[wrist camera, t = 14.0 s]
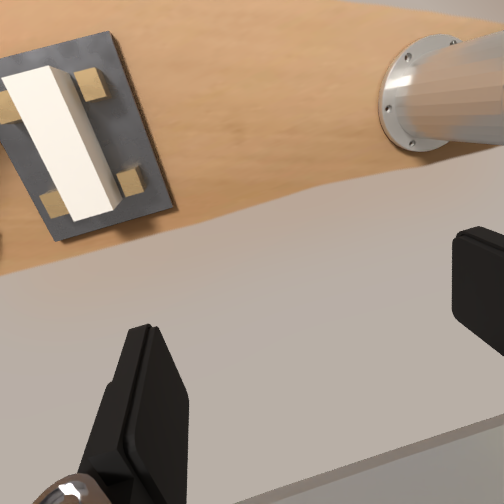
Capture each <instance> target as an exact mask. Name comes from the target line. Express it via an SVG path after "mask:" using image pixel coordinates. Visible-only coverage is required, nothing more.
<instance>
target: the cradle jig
mask: <svg viewBox="0 0 504 504" xmlns="http://www.w3.org/2000/svg"><path fill="white" fill-rule="evenodd" d="M48 65H49V66H52V67H54V68H57V69H60V70H62V71H65V72H67V73H69V74H70V77H71V79H72V81H73V84H74V86H75V88H76V91H77V93H78V95H79V98H80V100H81V102H82V105H83V107H84V110H85V112H86V114H87V117H88V119H89V121H90V124H91V126H92V128H93V131H94V133H95V135H96V138H97V140H98V142H99V145H100V147H101V149H102V152H103V154H104V156H105V159H106V161H107V163H108V166H109V168H110V170H111V173H112V175H113V177H114V180H115V182H116V184H117V187H118V189H119V191H120V194H121V196H122V198H123V199H122V201H121V202H120V203H119V204H118V205H117V206H116V208H115V209H114V210H112V211H109V212H105V213H102V214H98V215H95V216H91V217H88V218H85V219H81V220H78V221H73V219H72V217H71V215H70V213H69V211H68V209H67V207H66V205H65V203H64V201H63V199H62V197H61V195H60V193H59V192H58V190H57V188H56V186H55V184H54V182H53V180H52V178H51V176H50V174H49V172H48V170H47V168H46V166H45V164H44V162H43V160H42V158H41V156H40V154H39V152H38V150H37V148H36V146H35V144H34V142H33V140H32V138H31V136H30V134H29V132H28V130H27V128H26V126H25V124H24V122H23V120H22V118H21V116H20V114H19V112H18V110H17V108H16V106H15V104H14V102H13V100H12V98H11V97H10V95H9V93H8V91H7V89H6V87H5V85H4V83H3V81H2V79H1V78H3V77H7V76H10V75H14V74H18V73H22V72H26V71H29V70H33V69H37V68H41V67H44V66H48ZM0 141H1V143H2V145H3V147H4V149H5V150H6V152H7V154H8V156H9V158H10V160H11V162H12V163H13V165H14V167H15V169H16V171H17V173H18V174H19V176H20V178H21V180H22V182H23V184H24V186H25V187H26V189H27V191H28V193H29V195H30V197H31V199H32V200H33V202H34V204H35V206H36V208H37V210H38V211H39V213H40V215H41V217H42V219H43V221H44V223H45V224H46V226H47V228H48V230H49V232H50V234H51V235H52V237H53V239H54V241H55V242H56V241H60V240H63V239H66V238H70V237H73V236H77V235H80V234H83V233H87V232H90V231H94V230H97V229H100V228H104V227H107V226H111V225H114V224H117V223H121V222H124V221H128V220H131V219H134V218H138V217H141V216H145V215H148V214H152V213H155V212H158V211H162V210H165V209H169V208H172V207H173V203H172V200H171V197H170V194H169V192H168V189H167V186H166V183H165V181H164V178H163V175H162V172H161V170H160V167H159V164H158V161H157V159H156V156H155V153H154V150H153V148H152V145H151V142H150V139H149V136H148V134H147V131H146V128H145V125H144V123H143V120H142V117H141V114H140V112H139V109H138V106H137V103H136V101H135V98H134V95H133V92H132V90H131V87H130V84H129V81H128V79H127V76H126V73H125V70H124V68H123V65H122V62H121V59H120V57H119V54H118V51H117V48H116V45H115V43H114V40H113V37H112V34H111V33H110V32H109V31H106V32H102V33H98V34H94V35H90V36H86V37H82V38H78V39H74V40H71V41H67V42H63V43H59V44H55V45H51V46H47V47H43V48H39V49H36V50H32V51H28V52H24V53H20V54H16V55H12V56H8V57H4V58H1V59H0Z"/></svg>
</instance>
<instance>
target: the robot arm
mask: <svg viewBox="0 0 504 504" xmlns="http://www.w3.org/2000/svg"><path fill="white" fill-rule="evenodd" d="M385 108H386V111H385ZM378 110H379V117H380V122H381V125H382V127H383V129H384V132H385V133H386V135H387V136H388V137H389V139H390V140H391V141H392V142H393V143H394V144H396V145H397V146H399V147H401V148H403V149H406V150H410V151H417V152H424V151H431V150H434V149H437V148H439V147H441V146H443V145H445V144H447V143H448V142H449V141H457V142H469V143H481V144H493V145H504V30H503V31H499V32H496V33H492V34H489V35H485V36H482V37H478V38H475V39H471V40H468V41H464V42H463V41H461V40H460V39H459V38H457V37H454V36H451V35H445V34H436V35H430V36H427V37H424V38H421V39H419V40H417V41H415V42H413V43H411V44H410V45H409V46H407V47H406V48H405V49H403V50H402V51H401V52H400V53H399V54H398V56H397V57H396V58H395V59H394V60H393V62H392V63H391V65H390V66H389V68H388V70H387V72H386V74H385V76H384V78H383V81H382V84H381V88H380V92H379V100H378ZM452 312H453V315H454V317H455V318H456V319H457V320H458V321H459V322H460V323H462V324H463V325H464V326H465V327H467V328H468V329H469V330H471V331H472V332H473V333H474V334H476V335H477V336H478V337H479V338H481V339H482V340H483V341H484V342H486V343H487V344H488V345H490V346H491V347H492V348H493V349H495V350H496V351H497V352H499V353H500V354H501V355H502V356H504V235H502V234H499V233H497V232H494V231H492V230H489V229H486V228H484V227H480V226H477V227H474V228H470V229H467V230H463V231H460V232H459V233H457V236H456V238H454V239H453V242H452ZM188 423H189V398H188V394H187V391H186V388H185V386H184V384H183V382H182V379H181V377H180V375H179V373H178V370H177V368H176V366H175V363H174V361H173V359H172V357H171V354H170V352H169V350H168V348H167V345H166V343H165V341H164V339H163V336H162V334H161V332H160V330H159V328H158V327H157V326H156V327H152V326H151V325H150V324H146V325H142V326H139V327H135V328H132V329H129V331H128V334H127V337H126V340H125V343H124V346H123V349H122V352H121V356H120V359H119V362H118V365H117V368H116V371H115V374H114V378H113V380H112V382H110V383H109V384H108V385H107V387H106V389H105V392H104V395H103V398H102V401H101V404H100V407H99V410H98V413H97V416H96V419H95V422H94V425H93V428H92V431H91V433H90V436H89V440H88V442H87V445H86V448H85V451H84V454H83V457H82V460H81V463H80V466H79V469H78V472H77V474H72V475H68V476H66V477H64V478H62V479H60V480H58V481H57V482H55V483H54V484H53V485H51V486H50V487H49V488H47V489H46V490H45V491H44V492H43V493H42V494H41V495H40V496H39V497H38V498H37V499H36V500H35V501H34V502H33V504H186V496H187V462H188V425H189V424H188ZM235 504H504V414H502V415H499V416H496V417H493V418H490V419H486V420H483V421H480V422H477V423H474V424H471V425H468V426H465V427H462V428H459V429H456V430H453V431H450V432H446V433H443V434H441V435H437V436H434V437H431V438H429V439H425V440H422V441H419V442H416V443H413V444H410V445H407V446H404V447H401V448H398V449H395V450H392V451H389V452H385V453H382V454H379V455H376V456H374V457H370V458H367V459H364V460H361V461H358V462H355V463H352V464H349V465H347V466H343V467H340V468H337V469H334V470H332V471H329V472H325V473H322V474H319V475H316V476H313V477H310V478H307V479H304V480H301V481H298V482H295V483H292V484H289V485H286V486H283V487H280V488H277V489H274V490H271V491H269V492H266V493H263V494H260V495H257V496H254V497H251V498H249V499H246V500H243V501H240V502H237V503H235Z"/></svg>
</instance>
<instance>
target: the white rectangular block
mask: <svg viewBox="0 0 504 504" xmlns="http://www.w3.org/2000/svg"><path fill="white" fill-rule="evenodd" d="M1 79H2V81H3V83H4V85H5V87H6V89H7V91H8V93H9V95H10V97H11V98H12V100H13V102H14V104H15V106H16V108H17V110H18V112H19V114H20V116H21V118H22V120H23V122H24V124H25V126H26V128H27V130H28V132H29V134H30V136H31V138H32V140H33V142H34V144H35V146H36V148H37V150H38V152H39V154H40V156H41V158H42V160H43V162H44V164H45V166H46V168H47V170H48V172H49V174H50V176H51V178H52V180H53V182H54V184H55V186H56V188H57V190H58V192H59V193H60V195H61V197H62V199H63V201H64V203H65V205H66V207H67V209H68V211H69V213H70V215H71V217H72V219H73V221H78V220H81V219H85V218H88V217H91V216H95V215H98V214H102V213H105V212H109V211H112V210H114V209H115V208H116V206H117V205H118V204H119V203H120V202H121V201H122V199H123V198H122V196H121V194H120V191H119V189H118V187H117V184H116V182H115V180H114V177H113V175H112V173H111V170H110V168H109V166H108V163H107V161H106V159H105V156H104V154H103V152H102V149H101V147H100V145H99V142H98V140H97V138H96V135H95V133H94V131H93V128H92V126H91V124H90V121H89V119H88V117H87V114H86V112H85V110H84V107H83V105H82V102H81V100H80V98H79V95H78V93H77V91H76V88H75V86H74V84H73V81H72V79H71V77H70V74H69V73H67V72H65V71H62V70H60V69H57V68H54V67H52V66H49V65H48V66H44V67H41V68H37V69H33V70H29V71H26V72H22V73H18V74H14V75H10V76H7V77H3V78H1Z"/></svg>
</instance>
